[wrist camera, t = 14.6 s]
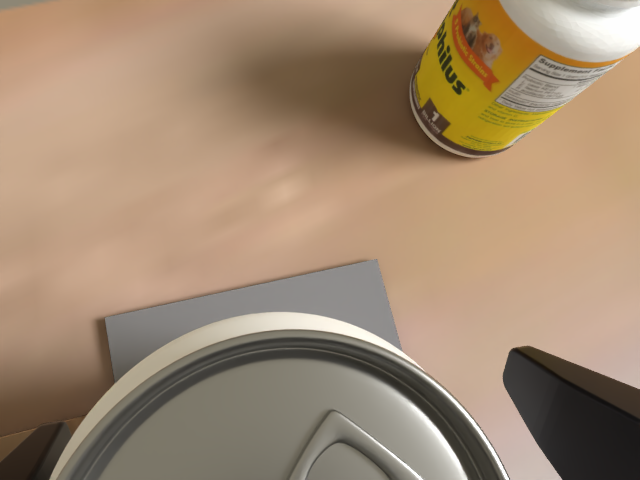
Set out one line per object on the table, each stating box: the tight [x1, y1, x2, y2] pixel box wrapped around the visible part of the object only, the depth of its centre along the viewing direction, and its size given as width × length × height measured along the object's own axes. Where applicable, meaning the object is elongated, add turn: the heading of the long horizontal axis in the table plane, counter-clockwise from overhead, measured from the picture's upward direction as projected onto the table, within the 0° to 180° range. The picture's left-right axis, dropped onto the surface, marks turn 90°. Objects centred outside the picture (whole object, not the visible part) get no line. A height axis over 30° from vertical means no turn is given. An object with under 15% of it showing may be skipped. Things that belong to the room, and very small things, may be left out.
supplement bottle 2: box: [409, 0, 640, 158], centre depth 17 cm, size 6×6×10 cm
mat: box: [105, 259, 402, 383], centre depth 17 cm, size 10×10×1 cm
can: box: [49, 312, 510, 480], centre depth 11 cm, size 6×6×12 cm
